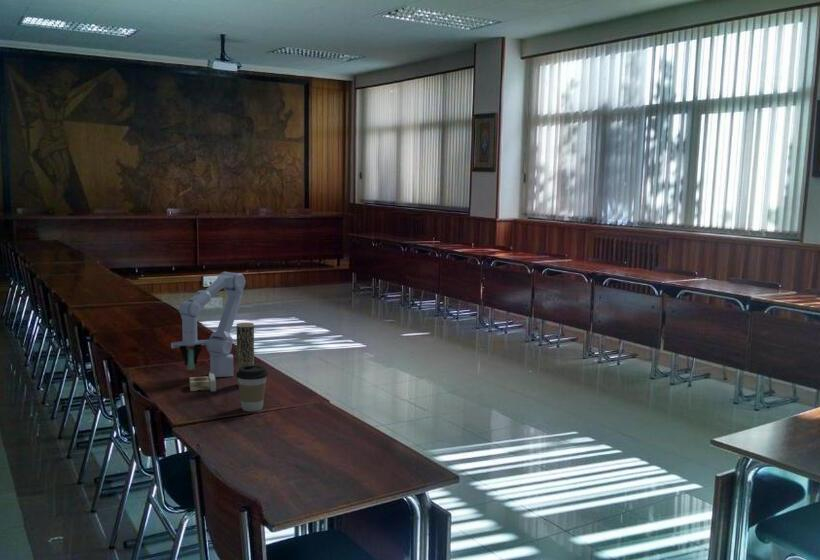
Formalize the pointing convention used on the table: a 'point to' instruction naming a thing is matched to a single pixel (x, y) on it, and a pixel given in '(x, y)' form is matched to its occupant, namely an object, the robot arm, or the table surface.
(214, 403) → the table surface
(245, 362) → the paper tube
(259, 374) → the coffee cup
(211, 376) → the wall
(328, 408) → the table surface
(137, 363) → the table surface
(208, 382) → the beige hollow square block
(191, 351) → the dowel
